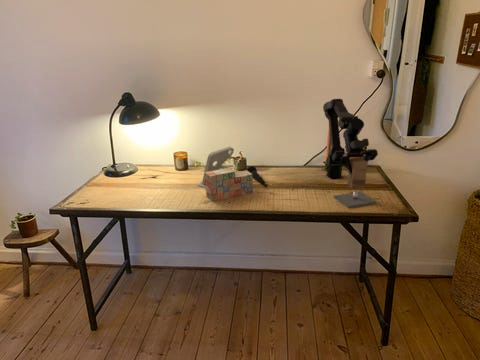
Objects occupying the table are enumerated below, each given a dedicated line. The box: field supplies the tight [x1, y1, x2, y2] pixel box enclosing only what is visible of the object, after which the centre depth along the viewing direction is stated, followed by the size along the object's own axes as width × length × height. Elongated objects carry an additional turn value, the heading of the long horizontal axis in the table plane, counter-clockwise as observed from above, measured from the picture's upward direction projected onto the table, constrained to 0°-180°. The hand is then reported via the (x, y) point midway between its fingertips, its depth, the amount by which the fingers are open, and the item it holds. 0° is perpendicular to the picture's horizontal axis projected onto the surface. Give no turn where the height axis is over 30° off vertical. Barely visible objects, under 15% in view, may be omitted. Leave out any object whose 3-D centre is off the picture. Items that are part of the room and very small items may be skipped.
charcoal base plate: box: [333, 191, 378, 209], centre depth 177 cm, size 14×12×1 cm
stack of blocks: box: [204, 167, 254, 202], centre depth 185 cm, size 21×6×12 cm, turn 115°
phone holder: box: [197, 146, 234, 189], centre depth 198 cm, size 17×10×18 cm, turn 138°
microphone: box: [245, 165, 268, 188], centre depth 203 cm, size 6×6×20 cm
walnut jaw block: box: [347, 157, 368, 190], centre depth 173 cm, size 6×6×12 cm
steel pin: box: [352, 190, 359, 199], centre depth 176 cm, size 2×2×4 cm
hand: (358, 173), depth 171 cm, fingers closed on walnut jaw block, 6 cm apart
